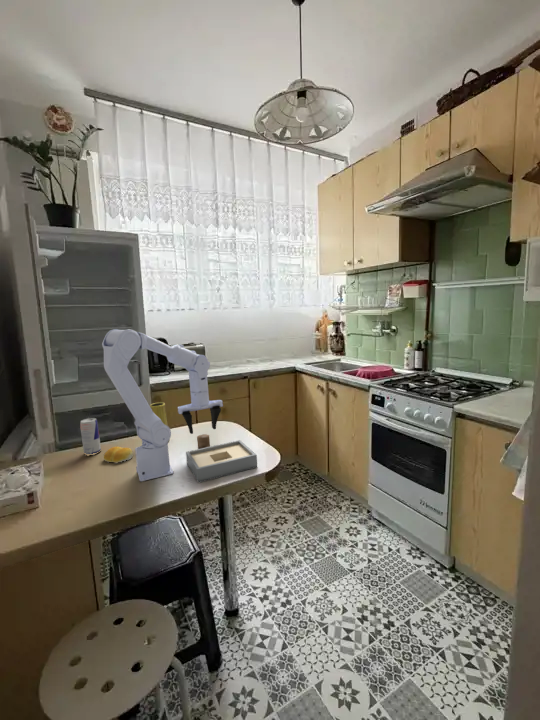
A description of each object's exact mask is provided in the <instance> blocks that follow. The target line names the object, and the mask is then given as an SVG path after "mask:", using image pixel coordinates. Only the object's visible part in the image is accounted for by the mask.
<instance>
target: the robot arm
mask: <svg viewBox="0 0 540 720" xmlns="http://www.w3.org/2000/svg"><path fill="white" fill-rule="evenodd" d="M101 346H102V349H103V368H104V369H103V370H104V371H105V372H106V374H107V376H108V378H109V379H110V380H111V383H112V384H113V386H114V388H115V389H116V390H117V392H118V394H119V395H120V397H121V399H122V400H123V402H124V403H125V405H126V407H127V408H128V410H129V412H130V413H131V414H132V417H133V419H134V423H133V424H134V425H135V428H136V435H137V436H138V438H139V439H140V440H141V445H140V446H137V447H135V448H134V451H135V462H136V467H135V468H136V469H135V470H136V473H137V475H138V478H139V479H138V480H139V481H140V482H145V481H148V480H152V479H153V480H154V479H156V478H161V477H166V476H169V475H173V474H174V470H173V468H172V466H171V464H170V455H169V443H168V442H170V440H171V437H172V431H171V428H170V426H169V425H168V424H167V425H165V424H163V422H162V421H161V419H160V418H159V417H158V416H156V415H155V414H154V413H153V411H152V409H151V408H150V405H149V402H148V401H147V399H146V398H145V396H144V394H143V392H142V391H141V389H140V387H139V385H138V383H137V382H136V380H135V378H134V377H133V375H132V374H131V372H130V370H129V363H130V361H131V359H132V358H133V357H134V355H135V354H136V353H137V352H138V351H139V350H148V351H151V352H154V353H156V354H160V355H162V356H165V357H166V360H167V361H168V362H169V363H170V364H171V363H172V365H176V366H178V367H181V368H184V369H185V371H187V372H188V379H189V391H190V402H191V403H188V404H184V405H180V406H177V413H178V414H179V415H182V417H183V419H184V421H185V423H186V425H187V427H188V431H189V433H190V435H192V434H194V429H193V415H192V414H191V412H196V411H201V410H207V409H209V411H210V416H211V428H212V429H213V430H216V428H217V423H218V420H219V416H220V413H221V411H222V409H221V407H224V404H223V400H222V399H216V400H210V395H209V384H208V382H209V381H208V375H209V369H210V366H211V362H210V361H209V359H208V358H207V356H206V355H204V354H198V353H197V352H196V351H195V350H190V349H188V348H185V345H183V344H181V343H178V344H174V345H171V346H170V345H169V344H167V343H165V342H162V341H160V340H159V339H156V338H154V337H152V336H149V335H148V334H145V333H143V332H140V331H136V330H135V329H130V328H128V329H117V328H114V329H110V330H109V331H108V332H106V334H105V336H104V338H103V341H102V343H101ZM169 439H170V440H169Z"/></svg>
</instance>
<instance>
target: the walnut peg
mask: <svg viewBox="0 0 540 720" xmlns="http://www.w3.org/2000/svg"><path fill="white" fill-rule="evenodd" d="M196 438H197V449H201V448H206V447H210V446H211V440H210V435H209V434H207V433H206V434H200V435H197V436H196Z"/></svg>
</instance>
